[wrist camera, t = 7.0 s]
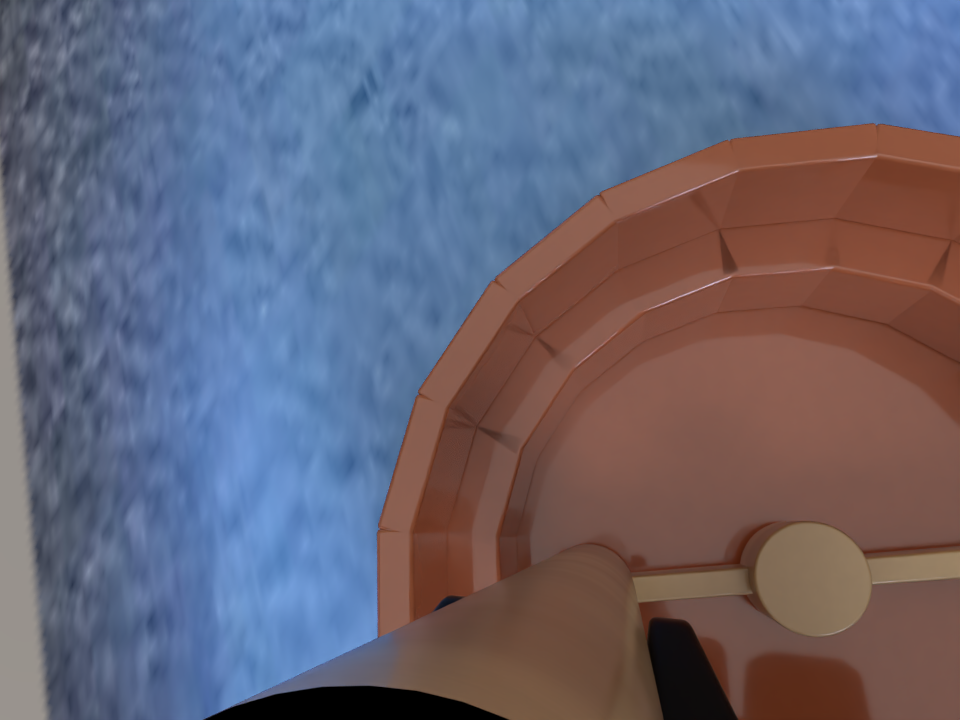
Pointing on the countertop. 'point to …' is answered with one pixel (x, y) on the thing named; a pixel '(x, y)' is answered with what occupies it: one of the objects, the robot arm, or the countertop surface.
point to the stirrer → (583, 633)
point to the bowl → (716, 407)
